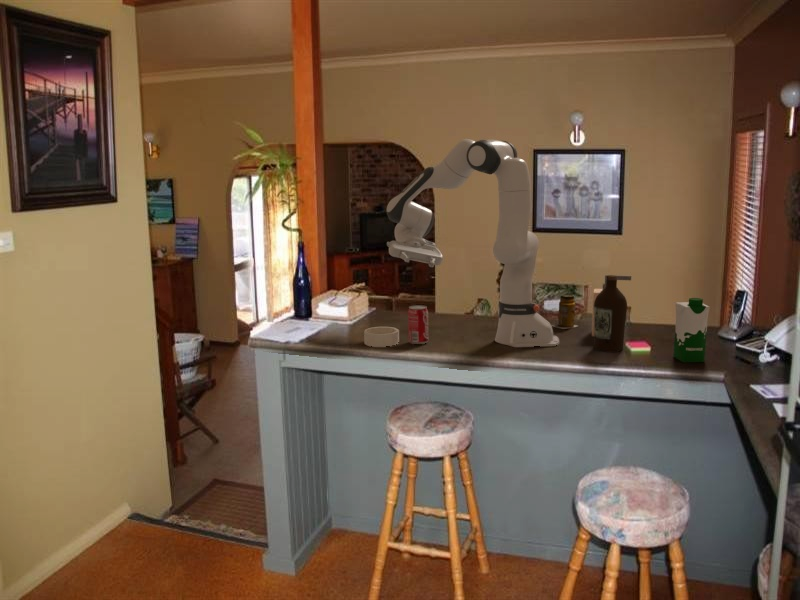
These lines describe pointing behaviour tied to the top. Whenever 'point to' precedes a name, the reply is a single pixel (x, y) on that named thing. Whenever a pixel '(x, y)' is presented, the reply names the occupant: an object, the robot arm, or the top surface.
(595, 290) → the soap dispenser
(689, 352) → the milk carton
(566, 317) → the condiment
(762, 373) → the top surface
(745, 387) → the top surface
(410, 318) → the soda can
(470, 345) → the top surface
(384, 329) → the bowl
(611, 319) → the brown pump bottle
